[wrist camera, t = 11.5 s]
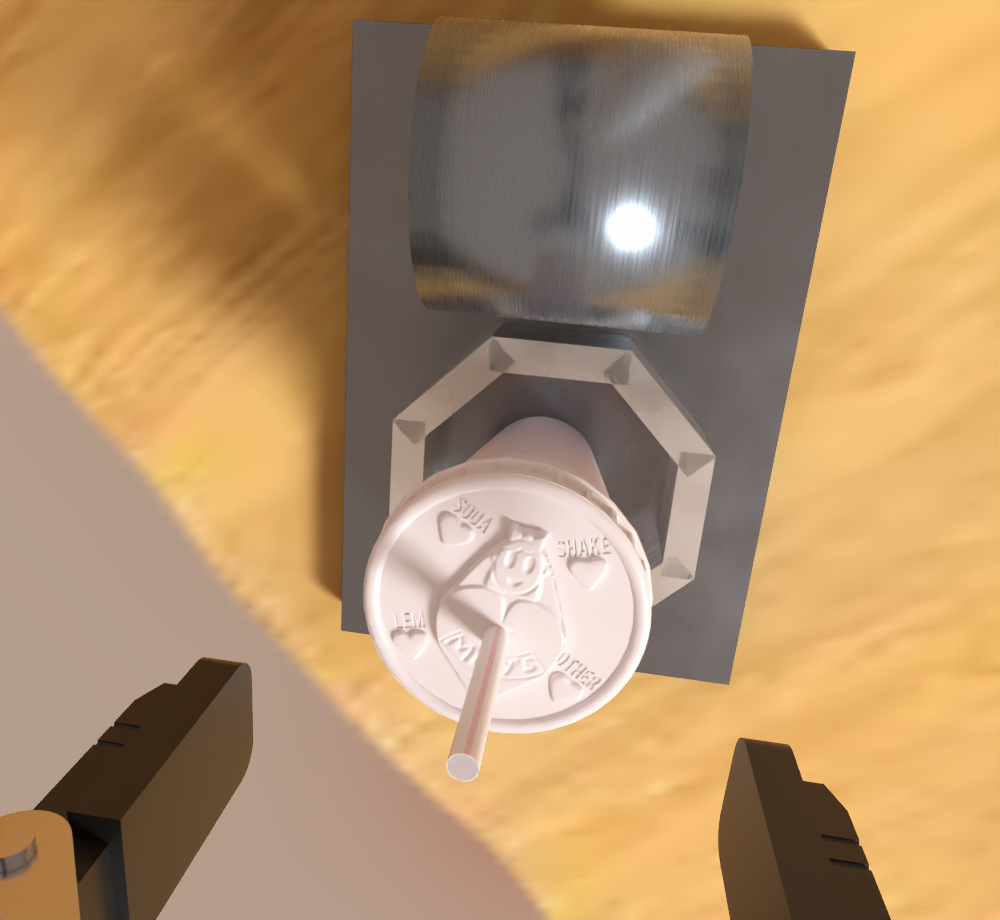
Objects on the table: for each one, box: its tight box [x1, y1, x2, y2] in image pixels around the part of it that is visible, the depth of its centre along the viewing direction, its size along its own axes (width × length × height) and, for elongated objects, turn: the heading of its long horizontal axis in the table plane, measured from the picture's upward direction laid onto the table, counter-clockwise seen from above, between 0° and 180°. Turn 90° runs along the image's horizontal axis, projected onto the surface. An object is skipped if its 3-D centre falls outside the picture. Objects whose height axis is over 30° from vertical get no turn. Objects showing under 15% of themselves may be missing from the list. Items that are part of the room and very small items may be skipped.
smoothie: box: [363, 416, 653, 781], centre depth 19 cm, size 6×6×14 cm
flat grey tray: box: [341, 16, 855, 685], centre depth 23 cm, size 20×14×8 cm
